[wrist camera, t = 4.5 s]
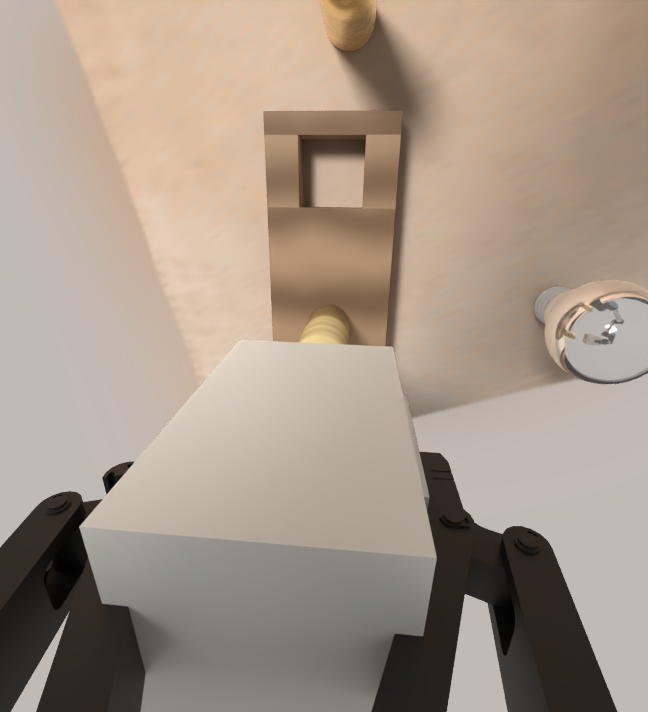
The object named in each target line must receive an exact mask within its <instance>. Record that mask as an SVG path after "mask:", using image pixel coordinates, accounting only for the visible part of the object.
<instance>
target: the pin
mask: <svg viewBox="0 0 648 712" xmlns="http://www.w3.org/2000/svg"><path fill="white" fill-rule="evenodd" d="M376 4H377V0H320V5H321V9H322V14H323V19H324V24H325V28H326V32H327V35H328V37H329V39H330V41H331V42H332V44H333V45H334V46H336V47H337V48H338V49H340V50H343V51H354V50H357V49H359V48H361V47H362V46H364V45H365V44H366V43H367V41H368V40H369V39H370V37H371V35H372V33H373V30H374V26H375V17H376Z"/></svg>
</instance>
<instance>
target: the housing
mask: <svg viewBox="0 0 648 712" xmlns="http://www.w3.org/2000/svg"><path fill="white" fill-rule="evenodd" d="M79 528H80V531H81V534H82V538H83V541H84V544H85V548H86V551H87V554H88V558H89V561H90V565H91V568H92V571H93V575H94V578H95V581H96V585H97V588H98V591H99V595H100V598H101V601H102V604H110V605H120V606H128V607H129V611H130V615H131V619H132V623H133V627H134V630H135V634H136V638H137V642H138V646H139V650H140V653H141V657H142V661H143V665H144V669H145V673H146V674H145V682H144V689H143V697H142V705H141V712H371V711H372V708H373V704H374V701H375V698H376V694H377V691H378V688H379V684H380V681H381V678H382V674H383V671H384V668H385V664H386V661H387V658H388V654H389V651H390V648H391V644H392V641H393V638H394V634H404V635H414V636H423V634H424V628H425V622H426V617H427V611H428V605H429V600H430V594H431V588H432V582H433V577H434V571H435V565H436V559H437V557H436V552H435V547H434V542H433V538H432V533H431V528H430V523H429V518H428V514H427V509H426V504H425V499H424V494H423V489H422V485H421V480H420V475H419V470H418V465H417V461H416V456H415V451H414V446H413V441H412V437H411V432H410V427H409V422H408V417H407V412H406V408H405V403H404V398H403V393H402V388H401V384H400V379H399V374H398V369H397V364H396V360H395V355H394V350H393V347H387V346H366V345H344V344H322V343H301V342H279V341H257V340H239V341H238V342H237V343H236V345H235V346H234V347H233V348H232V349H231V350H230V352H229V353H228V354H227V355H226V356H225V357H224V359H223V360H222V361H221V362H220V363H219V364H218V366H217V367H216V368H215V369H214V370H213V371H212V373H211V374H210V375H209V376H208V377H207V378H206V380H205V381H204V382H203V383H202V384H201V385H200V387H199V388H198V389H197V390H196V391H195V392H194V394H193V395H192V396H191V397H190V398H189V399H188V401H187V402H186V403H185V404H184V405H183V406H182V408H181V409H180V410H179V411H178V412H177V413H176V415H175V416H174V417H173V418H172V419H171V420H170V422H169V423H168V424H167V425H166V426H165V427H164V429H163V430H162V431H161V432H160V433H159V434H158V436H157V437H156V438H155V439H154V440H153V441H152V443H151V444H150V445H149V446H148V447H147V448H146V450H145V451H144V452H143V453H142V454H141V456H140V457H139V458H138V459H137V460H136V461H135V462H134V464H133V465H132V466H131V467H130V468H129V469H128V471H127V472H126V473H125V474H124V475H123V476H122V478H121V479H120V480H119V481H118V482H117V483H116V485H115V486H114V487H113V488H112V489H111V490H110V491H109V493H108V494H107V495H106V496H105V497H104V498H103V500H102V501H101V502H100V503H99V504H98V505H97V507H96V508H95V509H94V510H93V511H92V512H91V514H90V515H89V516H88V517H87V518H86V519H85V521H84V522H83V523H82V524H81V525H80V526H79Z"/></svg>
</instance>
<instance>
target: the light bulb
mask: <svg viewBox="0 0 648 712" xmlns="http://www.w3.org/2000/svg"><path fill="white" fill-rule="evenodd" d="M534 312H535V315H536V317H537V318H538V320H539V321H541V322H542V323H544V324H545V331H544V336H545V343H546V346H547V349H548V352H549V354H550V355H551V357H552V358H553V360H554V361H555V362H556V364H557V365H558V366H559V367H561V368H562V369H563V370H564V371H566V372H567V373H569V374H571V375H572V376H574V377H576V378H578V379H581V380H584V381H587V382H591V383H598V384H619V383H624V382H629V381H631V380H634V379H637V378H639V377H641V376H643V375H645V374H647V373H648V289H646V288H644V287H642V286H640V285H637V284H634V283H631V282H627V281H619V280H601V281H595V282H591V283H587V284H584V285H581V286H579V287H577V288H575V289H573V290H572V289H569V288H567V287H563V286H555V287H551V288H548V289H546V290H545V291H543V292H542V293H541V294H540V295H539V296H538V298H537V299H536V302H535V305H534Z"/></svg>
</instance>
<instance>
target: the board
mask: <svg viewBox="0 0 648 712" xmlns="http://www.w3.org/2000/svg"><path fill="white" fill-rule="evenodd" d="M263 112H264V135H265V159H266V183H267V207H268V230H269V254H270V278H271V301H272V325H273V341H279V342H301V343H322V344H344V345H366V346H385V344H386V330H387V317H388V303H389V290H390V276H391V263H392V249H393V235H394V222H395V208H396V195H397V181H398V168H399V154H400V141H401V127H402V114H403V110H384V111H263ZM303 140H366V145H365V168H364V190H363V208H342V207H303Z"/></svg>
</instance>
